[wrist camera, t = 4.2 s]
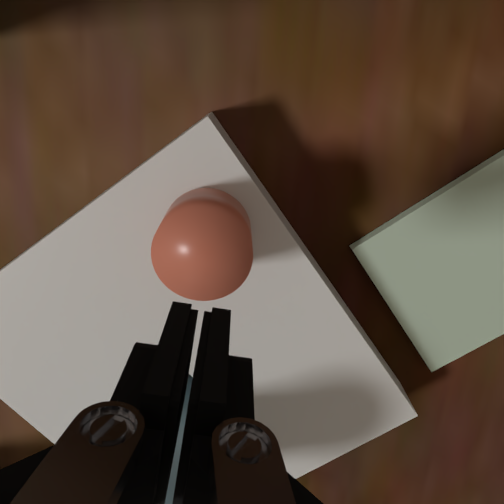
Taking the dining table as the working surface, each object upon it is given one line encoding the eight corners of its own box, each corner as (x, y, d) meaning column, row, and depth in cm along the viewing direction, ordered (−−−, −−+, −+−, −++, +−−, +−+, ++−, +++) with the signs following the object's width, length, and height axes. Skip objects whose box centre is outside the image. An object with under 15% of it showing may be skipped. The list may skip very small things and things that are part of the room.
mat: (581, 283, 25) (589, 287, 24) (427, 366, 27) (431, 372, 26) (519, 139, 21) (526, 140, 21) (349, 245, 23) (351, 249, 23)
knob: (264, 223, 22) (272, 266, 17) (203, 263, 23) (192, 317, 18) (218, 159, 21) (212, 185, 16) (155, 205, 21) (129, 244, 16)
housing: (399, 381, 27) (417, 415, 24) (177, 500, 30) (171, 542, 28) (211, 111, 21) (207, 116, 18) (-44, 302, 24) (-80, 330, 21)
